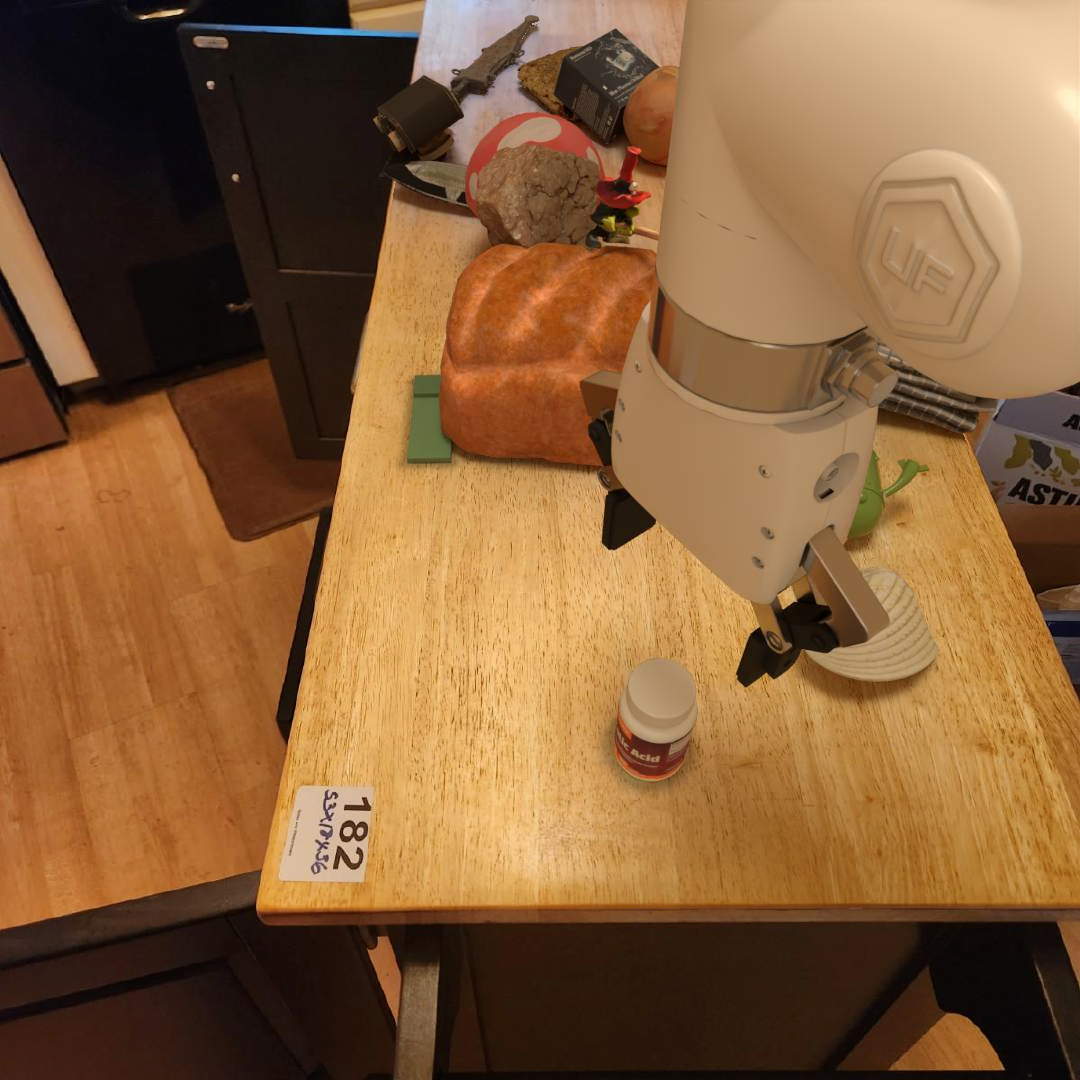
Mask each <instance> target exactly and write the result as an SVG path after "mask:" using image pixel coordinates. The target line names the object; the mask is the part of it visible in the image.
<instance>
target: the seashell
mask: <svg viewBox="0 0 1080 1080" xmlns="http://www.w3.org/2000/svg"><path fill="white" fill-rule="evenodd" d="M858 569H859V568H858ZM859 571H860V573H861V574H862V576H863V577H864V579H865V580H866V582H867V583H868V585H869V586H870V588H871V589H872V591H873V592H874V594H875V595H876V597H877V598H878V600H879V601H880V603H881V605H882V606H883V608H884V609H885V611H886V612H887V614H888V616H889V619H890V623H889V625H888V626H887V627H885V628H884V629H883V630H882V631H880V632H879V633H878V634H876V635H875V636H874V637H872V638H871V639H870V640H869V641H867V642H865V643H862V644H857V645H853V646H849V647H845V648H842V647H839V648H835V649H833V650H832V651H831V652H829V653H820V652H815V651H809V650H804V652H805V653H806V655H807V656H808V657H809V658H810V659H811V660H812V661H813V662H815V663H816V664H818V665H819V666H820V667H822V668H823V669H825V670H827V671H830V672H832V673H833V674H836V675H839V676H842V677H844V678H848V679H852V680H857V681H863V682H864V681H865V682H890V681H897V680H902V679H905V678H908V677H912V676H913V675H916V674H918V673H920V672H921V671H923V670H924V669H926V668H927V667H928V666H929V665H930V664H931V663H932V662H933V661H934V660H935V658H936V657H937V656H938V654H939V653H940V651H941V650H940V647H939V645H938V644H937V642H936V641H935V639H934V637H933V635H932V633H931V630H930V628H929V626H928V623H927V620H926V619H925V616H924V612H923V611H922V608H921V606H920V604H919V601H918V599H917V597H916V596H915V593H914V591H913V590H912V589H911V587H910V586H909V584H908V583H907V582H906V580H905V579H904V578H902V576H901V575H900V573H899V572H897V571H896V570H894V569H889V568H888V567H884V566H883V567H882V566H881V567H880V566H873V567H863V568H860V569H859Z"/></svg>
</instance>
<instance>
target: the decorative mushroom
mask: <svg viewBox="0 0 1080 1080" xmlns="http://www.w3.org/2000/svg"><path fill="white" fill-rule="evenodd" d="M525 143H526V144H537V145H543V146H547V147H549V148H551V149H553V150H562V151H564V152H568V153H570V152H573V153H575V154H576V156H577V157H579V156H582V157H583V158H588V159H590V160H592V161H594V162H596V163H597V164H598V165H599V175H600V179H602V178H603V177H606V175H605V169H604V166H603V162H602V159H601V156H600V154H599V151H598V149H597V148H596V146H595V145H594V144H593V142H592V140H591V139H590V138H589V137H588V136H587V135H586V134H585V133H584V132H583V131H582V130H581V129H580V127H578V126H577V125H576V124H574V123H573V122H571V121H570V120H565V119H563V118H561V117H558V116H556V115H555V114H553V113H548V112H542V111H541V112H540V111H531V112H523V113H519V114H516V115H513V116H510V117H508V118H506V119H503V120H502V121H501V120H500V121H499V123H497V124H496V125H495V126H493V127H491V129H490V130H488V131H487V132H486V133H485V134H484V135H483V136H482V138H481V139H480V140H479V141H478V144H477V146H476V147H475V148H474V151H473V152H472V154H471V157H470V159H469V162H468V164H467V165H468V167H467V171H466V176H465V194H466V202H467V204H468V206H469V207H470V208H471V209H470V208H469V209H470V210H471V211H472V213H473V214H474V216H475V217H477V218H478V219H479V220H480V218H479V214H478V212H477V210H476V208H477V204H476V190H478V189H479V184H478V175H479V171H480V170H481V168H482V167H484V166H485V164H487V163H488V162H490V160H491V158H492V157H493V156H494V154H495V153H496V152H497V151H498V150H500V149H503V148H505V147H509V148H516V147H520V146H521V145H523V144H525ZM596 203H597V206H598V205H599V204H600V203H601V201H600V199H599V197H598V196H597V200H596Z"/></svg>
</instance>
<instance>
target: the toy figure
mask: <svg viewBox="0 0 1080 1080" xmlns="http://www.w3.org/2000/svg"><path fill="white" fill-rule="evenodd" d="M626 148H627V149H626V150H627V151H626V154H625V157H624V159H623V162H622V166H621V169H620V171H619V177H618V178H616V179H615V178H614V177H610V176H608V177H607V176H605V177H603V178H602V179H600V180H599V182H598V184H597V189H596V190H597V196H598V197H599V199H600V201H601V203H600V204H599V205H598V206H597V207H596V209H595V212H594V213H593V214H586V213H582V212H579V211H575V210H571V212H572V213H574V214H578V215H580V216H583V217H586V218H589V219H591V220H592V221H593V222H594V223H596V224H597V226H596V227H595V229H593V230H590V232H588V234H587V235H586V240H585V244H586V246H588V247H591V248H592V249H597V250H599V249H600V248H602V247H603V244H602V242H604V243H606V244H623V245H631V239H630V237H632V236H633V235H637V236H641V237H645V238H648V239H650V240H654V241H658V239H659V231H657V230H654V229H650V228H648V227H645V226H640V225H636V224H635V223H634V220H633V219H634V218H636V217H638V216H639V215H640V214H641V208H640V207H639V206H638V205H639V204H642V203H643V201H645V200H646V199H649V198H651V197H652V193H650V191H645V190H637V189H638V182H636V181H634V180H633V171H634V169H635V167H636V165H637V164H638V162H639V159H638V155H639V154H640V153H641V149H637V148H635V147H634V146H633V147H632V146H627V147H626ZM598 237H599V238H601V241H602V242H600V241H599V238H598Z"/></svg>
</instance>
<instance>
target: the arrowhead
mask: <svg viewBox="0 0 1080 1080" xmlns="http://www.w3.org/2000/svg"><path fill="white" fill-rule="evenodd" d="M419 153H420V152H419V150H418V149H417V150H416V151H415V152H414V153H411V152H410V151H409V150H408V149H407V148H405V149H403V150H402V151H400V152H398V151H397V149H396V150H393V152H392V153H390V156H389V158H388V159H387V160H386V162H385V164H384V165H383V166H382V171H381V172H379V174H378V179H386V178H388V177H387V176H386V175H385V174H384V168H385V167H387V166H390V165H392V164H398V163H404V162H412V161H421V159H420V158H419ZM447 156H448V153H447V152H446V153H444V154H443V155H442V156H440V157H439V158H437V159H435V160H432V161H437V162H439V161H440V160H441V161H442V160H443V159H445V158H447Z"/></svg>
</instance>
